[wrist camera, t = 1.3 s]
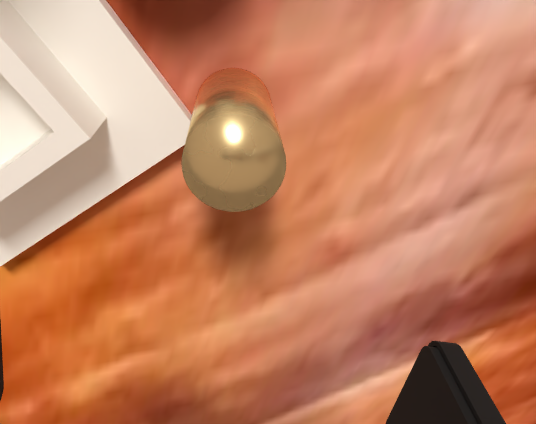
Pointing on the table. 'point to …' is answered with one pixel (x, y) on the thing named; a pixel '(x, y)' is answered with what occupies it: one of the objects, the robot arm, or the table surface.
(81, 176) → the flange socket
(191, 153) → the cylinder
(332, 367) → the table surface
